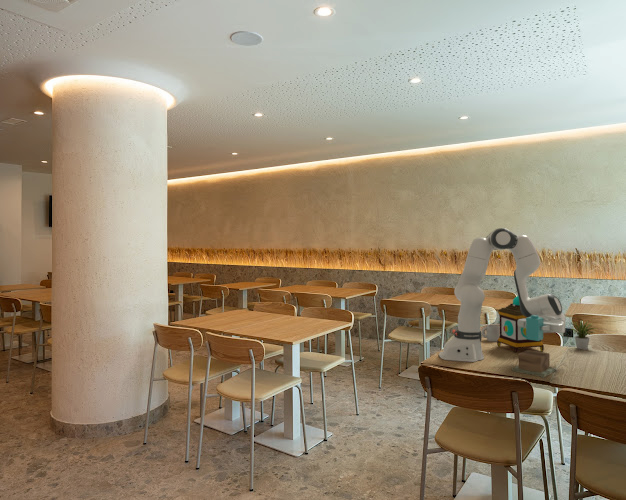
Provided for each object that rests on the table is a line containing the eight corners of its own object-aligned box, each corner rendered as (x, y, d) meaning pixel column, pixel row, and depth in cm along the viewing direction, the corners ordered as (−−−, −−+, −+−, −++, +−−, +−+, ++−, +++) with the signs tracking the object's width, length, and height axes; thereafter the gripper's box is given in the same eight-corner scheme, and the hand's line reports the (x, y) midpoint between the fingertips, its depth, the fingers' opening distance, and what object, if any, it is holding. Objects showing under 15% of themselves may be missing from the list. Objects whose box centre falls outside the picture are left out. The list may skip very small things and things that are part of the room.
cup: (499, 342, 267) (499, 327, 266) (482, 341, 270) (481, 326, 270) (499, 339, 273) (499, 325, 273) (481, 338, 277) (481, 324, 276)
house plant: (584, 353, 238) (584, 322, 238) (561, 347, 251) (561, 318, 250) (602, 350, 244) (602, 320, 243) (578, 344, 256) (578, 316, 256)
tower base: (543, 377, 200) (543, 359, 200) (512, 370, 210) (512, 353, 210) (555, 370, 209) (555, 353, 209) (525, 364, 219) (525, 348, 219)
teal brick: (538, 341, 205) (538, 317, 204) (526, 339, 209) (526, 315, 209) (543, 339, 208) (543, 315, 208) (531, 337, 213) (531, 314, 212)
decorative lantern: (493, 345, 258) (492, 294, 257) (523, 343, 262) (523, 292, 261) (515, 354, 238) (515, 298, 238) (548, 352, 242) (547, 297, 241)
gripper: (524, 314, 225) (511, 318, 216) (568, 319, 209) (556, 323, 200) (524, 326, 225) (511, 330, 216) (568, 333, 210) (556, 337, 200)
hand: (533, 327), depth 208 cm, fingers closed on teal brick, 5 cm apart
